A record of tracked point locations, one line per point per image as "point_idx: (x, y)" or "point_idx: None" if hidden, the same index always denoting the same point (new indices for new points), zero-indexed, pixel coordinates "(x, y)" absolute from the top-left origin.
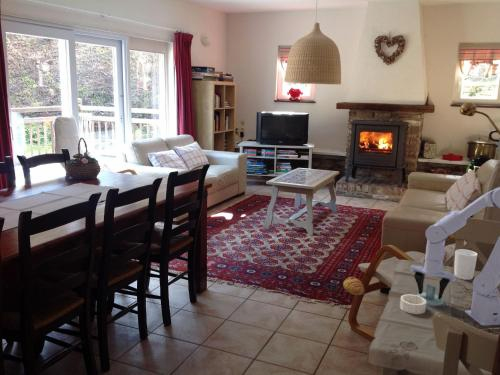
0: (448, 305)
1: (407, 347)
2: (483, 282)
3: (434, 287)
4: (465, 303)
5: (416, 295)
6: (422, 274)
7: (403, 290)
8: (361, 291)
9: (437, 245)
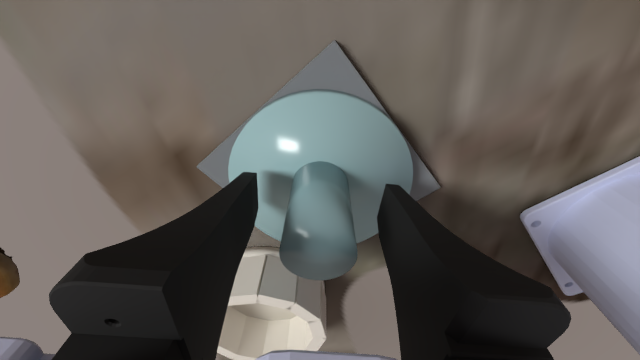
0: (436, 189)
1: None
2: None
3: (348, 264)
4: (576, 70)
5: (254, 297)
6: (183, 354)
7: (104, 93)
8: (3, 295)
9: None
